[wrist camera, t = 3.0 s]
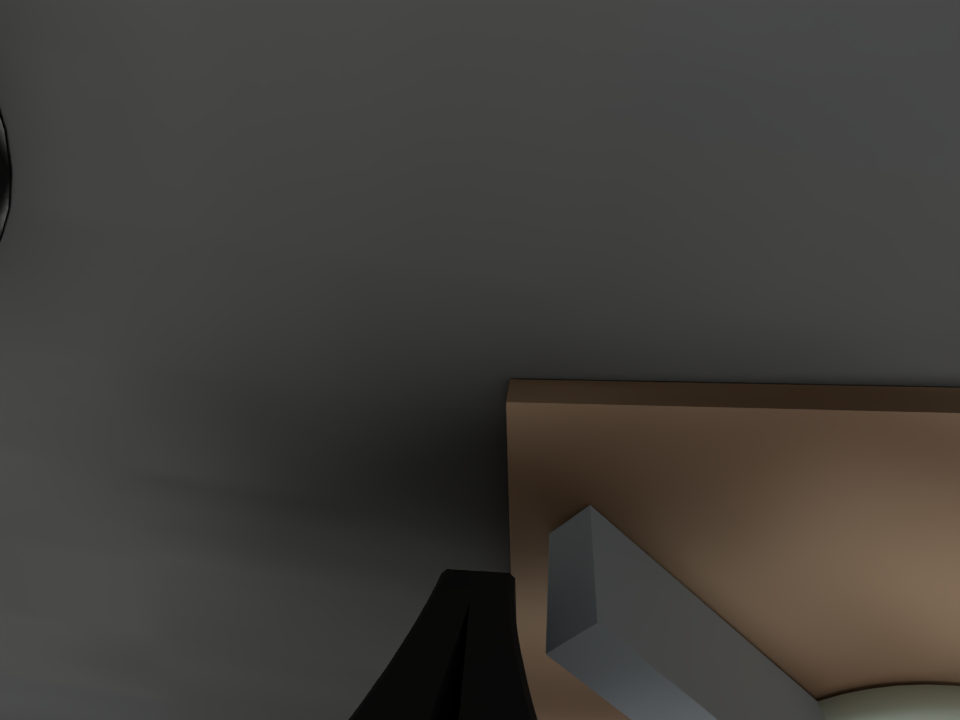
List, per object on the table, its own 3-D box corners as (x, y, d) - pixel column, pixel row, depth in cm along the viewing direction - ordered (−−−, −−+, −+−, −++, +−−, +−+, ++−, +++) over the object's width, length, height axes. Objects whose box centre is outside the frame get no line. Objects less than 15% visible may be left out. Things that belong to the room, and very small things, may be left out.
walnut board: (1188, 926, 18) (1222, 971, 17) (521, 843, 20) (519, 879, 19) (1688, 401, 10) (1799, 433, 9) (510, 379, 13) (506, 401, 12)
